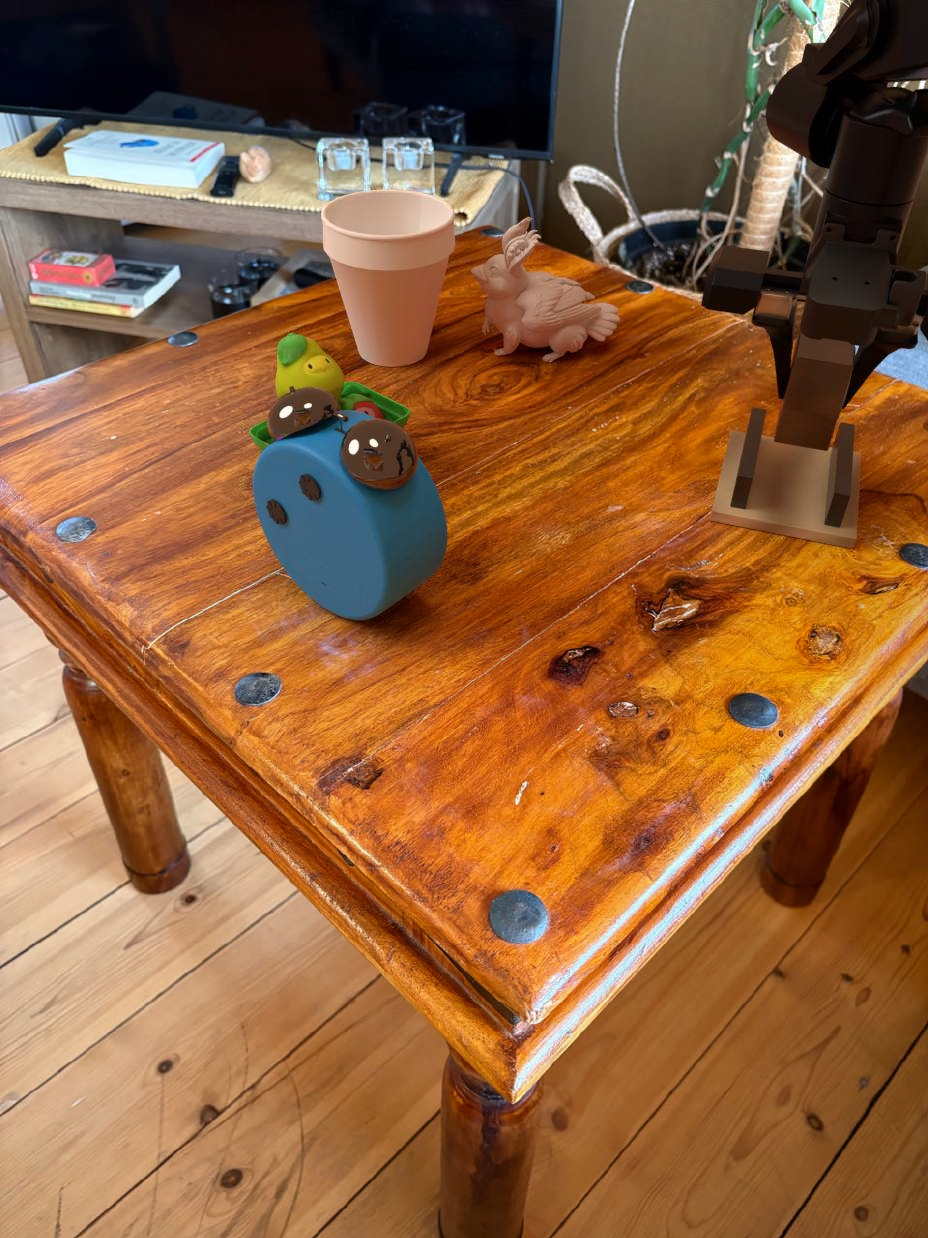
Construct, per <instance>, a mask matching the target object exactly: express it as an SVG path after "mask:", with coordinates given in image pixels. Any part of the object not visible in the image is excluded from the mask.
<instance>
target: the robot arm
mask: <svg viewBox="0 0 928 1238" xmlns="http://www.w3.org/2000/svg"><path fill="white" fill-rule="evenodd" d="M845 10H846V11H844V13H843V15H842V16H841V18H840V19H839V20H838V22H837V24H836V25H835V26H834V28H833V29H832V31H831V33H830V34H829V35H828V37H827V38H826V40H825V42H808V43H806V44H805V45H804V48H803V53H802V57H801V62H798V63H797V64H795V65H794V66H792V67H791V68H790V69H788V70H787V71H786V72H785V73H784V74H783V75H782V76H781V77H780V79H779V81H778V82H777V83H776V85H775V87H774V88H773V90H772V93H770V95H769V96H768V98H767V103H766V106H765V123H766V127H767V130H768V131H769V134H770V136H771V137H772V138H773V139H774V140H775V141H777V142H778V143H780V144H782V145H783V146H785V147H787V148H788V149H790V150H791V151H793V152H795V153H796V154H798V155H800V156H801V157H803V158H805V159H806V160H808V161H809V162H812V163H813V164H814V165H816V166H818V167H820V168H822V169H827V170H828V173H827V177H826V181H825V185H824V187H823V188H824V189H823V192H822V196H821V201H820V204H819V208H818V213H817V218H816V222H815V224H814V229H813V233H812V237H811V241H810V244H809V249H808V254H807V256H806V257H807V258H806V261H805V265H804V270H803V272H801V271H800V272H799V271H793V270H784V269H779V268H771V267H768V263H769V259H770V255H771V251H769V250H762V249H754V248H749V247H740V246H733V245H727V244H726V245H723V246H721V247H720V248H718V250H716V251H715V252H714V254H713V257H712V259H711V261H710V265H709V268H708V270H707V273H706V277H705V282H704V287H703V291H702V297H701V304H700V306H701V307H703V308H704V309H706V310H708V311H709V310H710V311H715V312H723V313H729V314H735V315H743V316H744V315H746V314H747V313H749V312H751V311H752V310H753V312H752V316H751V324H752V325H753V326H755V327H758V328H763V329H764V330H765V332H766V334H767V335H768V337H769V342H770V344H771V349H772V353H773V358H774V360H773V361H774V369H775V378H776V386H777V387H776V388H777V396H778V399H779V400H781V399H783V398H784V394H785V390H786V387H787V383H788V379H789V373H790V366H791V359H792V355H793V350H794V340H795V339H794V338H795V331H796V330H795V329H796V320H797V313H798V312H797V311H798V303H799V302H800V303H804V305H803V311H802V316H801V320H800V324H799V328H800V330H801V332H802V334H803V335H805V336H806V337H808V338H811V339H816V340H821V339H823V338H825V339H831V340H838V341H845V342H849V343H850V344H851V345H855V347H857V349H856V353H855V360H854V367H853V370H852V374H851V379H850V383H849V387H848V390H847V394H846V397H845V401H844V404H843V407H842V410H845V408H846V407H847V406H848V405H849V403H850V402H851V401H852V399H853V398H854V397H855V396H856V394H857V393H858V391H859V390H860V389H861V388H862V386H863V385H864V384H865V382H866V381H867V380H868V379H869V377H870V376H871V375H872V373H874V371H875V369H877V368H878V366H879V365H880V364H882V362H883V361H884V360H885V359H886V358H887V357H889V356H890V355H891V354H893V353H895V352H896V351H899V350H902V349H903V350H913V349H914V348H916V347H917V345H918V343H919V332H918V331H919V329H920V332H921V333H922V335H923V336H924V337H925V339H926V341H927V342H928V272H927V270H921V269H913V268H906V267H905V266H904V265H898V253H899V250H900V246H901V243H902V238H903V237H904V233H905V229H906V227H907V224H908V220H909V216H910V214H911V210H912V208H913V203H914V200H915V197H916V193H917V190H918V187H919V184H920V181H921V177H922V175H923V171H924V167H925V164H926V162H927V158H928V88H916V89H915V90H914V91H913V90H911V89H909V88H906V87H903V86H889V84H891V83H908V82H923V81H924V82H925V81H927V80H928V0H852V2H851V3H850V4H849V6H848V7H847V9H845Z"/></svg>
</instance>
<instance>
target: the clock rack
mask: <svg viewBox="0 0 928 1238" xmlns="http://www.w3.org/2000/svg"><path fill="white" fill-rule="evenodd" d="M767 412H768V411H767V409H766V408H760V407H753V406H752V407H751V411H750V415H749V419H748V424H747V427H746V431H740V430H735V429H731V430H730V433H729V437H728V442H727V446H726V450H725V453H724V454H725V455H724V459H723V462H722V466H721V470H720V475H719V478H718V481H717V482H718V483H717V488H716V490H715V496H714V498H713V503H712V506H711V507H712V508H711V510H710V515H709V521H710V522H713V523H714V522H715V523H720V524H725V525H730V526H735V527H740V528H745V529H750V530H755V531H759V532H765V533H771V534H775V535H776V534H777V535H780V536H785V537H790V538H794V539H795V538H796V539H799V540H800V539H801V540H806V541H810V542H816V543H822V544H825V545H832V546H837V547H840V548H841V547H842V548H847V549H852V550H853V549H855V546H856V543H857V540H858V524H859V523H858V522H859V507H860V506H859V505H860V486H861V469H862V467H861V465H862V452H861V451H855V450H854V447H855V446H854V445H855V432H856V424H854V423H848V422H842V421H841V422H839V425H838V428H837V432H836V435H835V438H834V441H833V445H832V446H829V449H828V451H823V450H817V449H812V448H806V447H800V446H795V445H789V444H783V443H778V442H774V437H775V436H769V435H766V434H765V435H763V431H764V425H765V421H766V415H767Z"/></svg>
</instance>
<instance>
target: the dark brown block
mask: <svg viewBox="0 0 928 1238" xmlns="http://www.w3.org/2000/svg"><path fill="white" fill-rule="evenodd" d="M856 347H857V346H856V345H851V344H850V343H849V342H845V341H838V340H831V339H825V338H823V339H821V340H816V339H811V338H808V337H806V336H805V335H803V334H802V332H801V330H800V327H799V328H798V333H797V336H796V340H795V344H794V346H793V350H792V358H791V366H790V373H789V379H788V383H787V387H786V390H785V394H784V398H783V399H780V403H779V410H778V415H777V422H776V426H775V432H774V436H773V437H774V442H778V443H783V444H789V445H795V446H800V447H806V448H812V449H817V450H823V451H828V449H829V447H831V441H832V439H833V435H834V433H835V429H836V426H837V423H838V420H839V418H840V415H841V413H842V411H843V409H842V407H843V404H844V401H845V397H846V394H847V390H848V387H849V383H850V379H851V374H852V370H853V367H854V360H855V355H856V352H857V348H856Z"/></svg>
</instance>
